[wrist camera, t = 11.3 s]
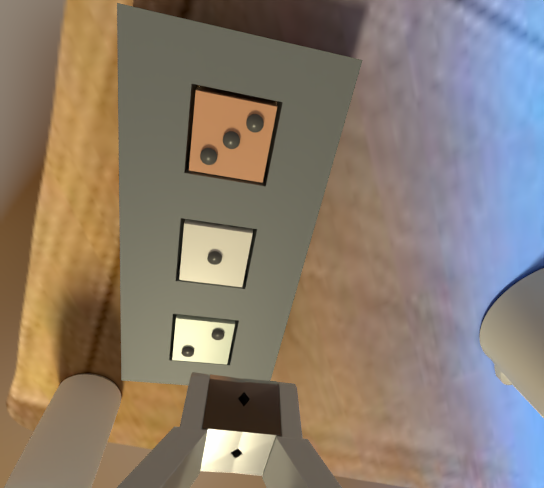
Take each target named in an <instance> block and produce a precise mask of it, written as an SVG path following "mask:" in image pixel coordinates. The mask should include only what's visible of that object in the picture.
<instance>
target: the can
mask: <svg viewBox="0 0 544 488" xmlns="http://www.w3.org/2000/svg"><path fill="white" fill-rule="evenodd" d="M120 403H121V393H120V391H119V389H118V387H117V386H116V384H115V383H114V382H112V381H111V380H110V379H108V378H106V377H104V376H101V375H97V374H91V373H83V374H77V375H74V376H71V377H69V378H67V379H65V380H64V381H63V382H62V383H61V384H60V385H59V387H58V389H57V390H56V392H55V394H54V396H53V398H52V399H51V401H50V403H49V405H48V407H47V409H46V410H45V412H44V414H43V416H42V418H41V420H40V421H39V423H38V425H37V427H36V429H35V431H34V433H33V435H32V436H31V438H30V440H29V442H28V444H27V445H26V447H25V449H24V451H23V453H22V455H21V457H20V459H19V460H18V462H17V464H16V466H15V468H14V470H13V472H12V473H11V475H10V477H9V479H8V481H7V483H6V485H5V487H4V488H91V487H92V484H93V481H94V479H95V476H96V473H97V470H98V467H99V464H100V461H101V458H102V455H103V452H104V450H105V447H106V444H107V441H108V438H109V435H110V432H111V429H112V427H113V424H114V421H115V418H116V415H117V412H118V409H119V406H120Z"/></svg>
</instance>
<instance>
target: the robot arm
mask: <svg viewBox="0 0 544 488" xmlns="http://www.w3.org/2000/svg"><path fill="white" fill-rule="evenodd" d="M480 344H481V347H482V349H483V351H484V353H485V354H486V355H487V356H488V357H489V358H490V359H491V360H492V361H493V363H494V365H495V373H496V376H497V377H498V378H499V379H500V381H501V382H502V383H503V384H506V385H513V386H514V387H515V388H516V389H517V390H518V391H519V392H520V393H521V394H522V395H523V396H524V397H525V399H526V400H527V401H528V402H529V403H530V404H531V405H532V406H533V407H534V408H535V409H536V410H537V411H538V412H539V414H540V415H541V416H542V417H543V418H544V268H543V269H540V270H538V271H536V272H534V273H532V274H530V275H528V276H527V277H525V278H523V279H522V280H520V281H519V282H517V283H516V284H514V285H513V286H512V287H510V288H509V289H508V290H507V291H506V292H505V293H503V294H502V295H501V296H500V297H499V298H498V299H497V301H496V302H495V303H494V304H493V305H492V307H491V308H490V310H489V311H488V313H487V314H486V316H485V318H484V320H483V323H482V326H481V329H480ZM209 377H210V378H209ZM200 471H210V472H229V473H240V474H249V475H258V476H263V477H262V478H263V481H264V483H265V485H266V487H267V488H342V487H341V486H340V485H339V483H338V482H337V480H336V479H335V477H334V476H333V475H332V473H331V472H330V470H329V469H328V467H327V466H326V465H325V463H324V462H323V460H322V459H321V458H320V456H319V455H318V453H317V452H316V451H315V449H314V448H313V446H312V445H311V443H310V442H309V441H308V439H302V431H301V422H300V413H299V404H298V395H297V387H296V385H295V384H291V383H282V382H276V381H266V380H256V379H246V378H244V379H240V378H233V377H226V376H219V375H212V374H204V373H196V372H192V374H191V377H190V381H189V386H188V390H187V395H186V400H185V405H184V409H183V414H182V419H181V424H180V427H173V429H172V430H171V431H170V432H169V433H168V434H167V435H166V436H165V437H164V438H163V439H162V440H161V441H160V442H159V443H158V444H157V446H156V447H155V448H154V449H153V450H152V451H151V452H150V453H149V454H148V455H147V456H146V457H145V458H144V459H143V460H142V461H141V462H140V464H139V465H138V466H137V467H136V468H135V469H134V470H133V471H132V472H131V473H130V474H129V475H128V476H127V477H126V478H125V480H124V481H123V482H122V483H121V484H120V485H119V486H118V487H117V488H190V487H191V485H192V484H193V482H194V481H195V480H196V478H197V477H198V475H199V473H200Z"/></svg>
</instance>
